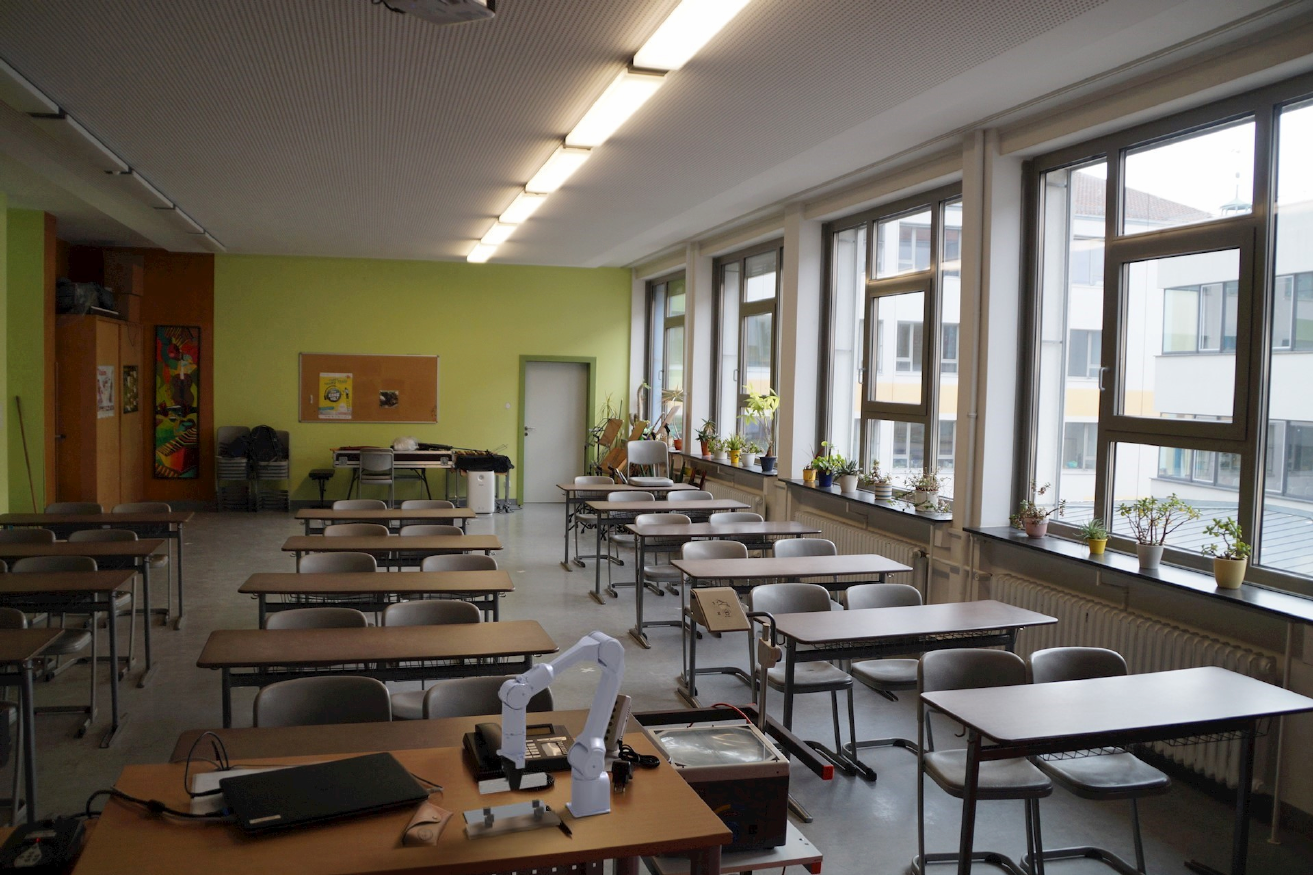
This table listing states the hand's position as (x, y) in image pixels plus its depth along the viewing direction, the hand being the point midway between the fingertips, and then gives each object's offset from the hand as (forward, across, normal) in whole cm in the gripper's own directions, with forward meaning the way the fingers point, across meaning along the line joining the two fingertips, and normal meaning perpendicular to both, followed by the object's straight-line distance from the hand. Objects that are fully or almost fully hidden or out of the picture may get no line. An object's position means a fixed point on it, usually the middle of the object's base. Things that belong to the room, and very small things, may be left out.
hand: (513, 787), depth 216 cm
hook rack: (+10, 0, 0) cm, 10 cm away
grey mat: (+10, -8, 0) cm, 12 cm away
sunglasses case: (+10, -6, -19) cm, 22 cm away
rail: (0, 0, 0) cm, 0 cm away
